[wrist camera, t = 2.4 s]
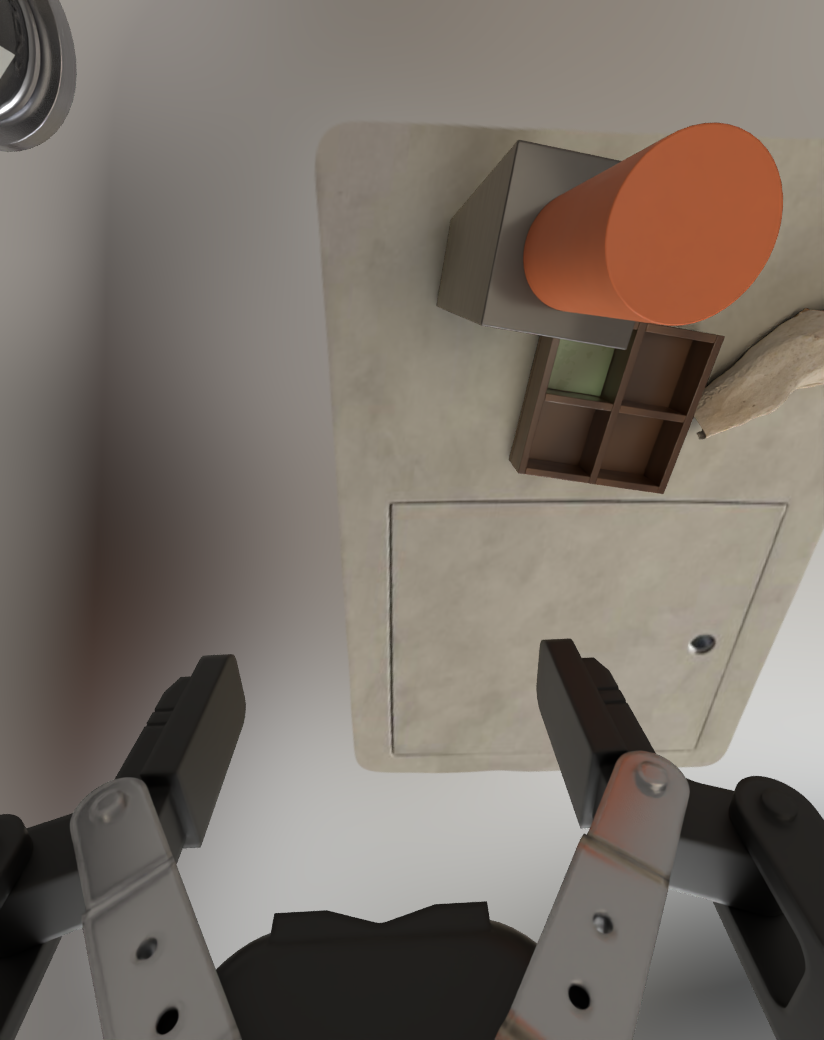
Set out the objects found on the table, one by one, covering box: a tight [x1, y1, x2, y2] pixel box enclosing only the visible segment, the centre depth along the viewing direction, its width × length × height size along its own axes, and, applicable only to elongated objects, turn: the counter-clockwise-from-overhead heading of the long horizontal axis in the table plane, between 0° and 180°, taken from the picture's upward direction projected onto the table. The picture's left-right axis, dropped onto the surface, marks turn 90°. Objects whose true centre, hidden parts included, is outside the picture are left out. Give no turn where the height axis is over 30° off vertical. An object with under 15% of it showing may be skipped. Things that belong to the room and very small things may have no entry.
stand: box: [437, 140, 635, 350], centre depth 29 cm, size 6×6×22 cm
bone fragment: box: [694, 308, 824, 439], centre depth 40 cm, size 14×6×5 cm, turn 119°
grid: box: [509, 321, 724, 494], centre depth 41 cm, size 13×13×4 cm
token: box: [523, 123, 783, 326], centre depth 15 cm, size 4×4×8 cm
